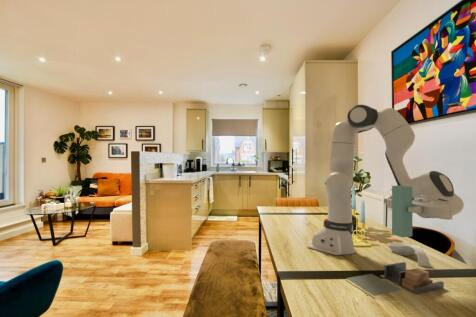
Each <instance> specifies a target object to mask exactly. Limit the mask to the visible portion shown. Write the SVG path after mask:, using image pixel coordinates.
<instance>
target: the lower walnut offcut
mask: <svg viewBox="0 0 476 317" xmlns="http://www.w3.org/2000/svg"><path fill="white" fill-rule="evenodd" d="M430 283H434V280H433V279H431V278H429V280H426V281H423V282H420V283H417V284H416V283H414V282H412V281H409V280H407V279H405V278H402V286H404V287H405V288H407V289H409V290H411V291H413V287H416V286H420V285H425V284H430Z"/></svg>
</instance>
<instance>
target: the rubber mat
mask: <svg viewBox="0 0 476 317" xmlns="http://www.w3.org/2000/svg"><path fill="white" fill-rule="evenodd" d="M345 281H346V282H347V283H349V284H350V285H351V286H354V287H355V288H356V289H358V290H360V291H362V293H364V294H366V295H368V296H369V297H371V298H373V300H375V299H376V297H375V296H380V295H384V294H389V293H393V292H398V291H402V290H403V288H402V289H401V287H400V288H399V287H398V286H397V285H394V284H392V283H390V282H388V281H387V280H386V279H385V280H384V278H382V277H380V276H377V275H375V274H373V273H369V274H363V275H357V276H351V277H350V276H349V277H346V280H345ZM361 288H362V289H361ZM370 294H371V295H370Z"/></svg>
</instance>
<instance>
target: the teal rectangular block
mask: <svg viewBox="0 0 476 317" xmlns="http://www.w3.org/2000/svg"><path fill="white" fill-rule="evenodd" d="M391 199H392V208H391V235H394V236H397V237H398V238H399V237H400V238H408V237H409V238H410V237H413V213H412V212H407V211H406V207H408V206H410V207H412V187H411V186H398V185H391Z"/></svg>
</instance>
